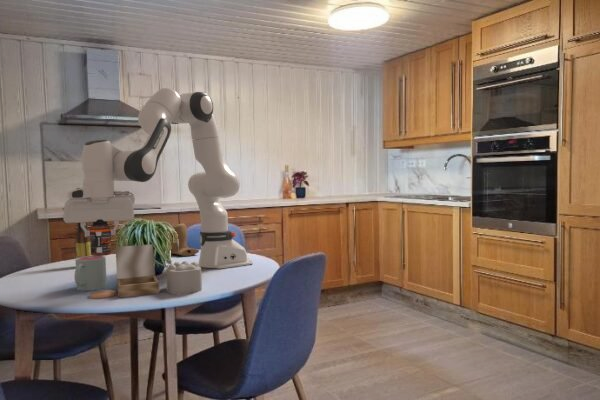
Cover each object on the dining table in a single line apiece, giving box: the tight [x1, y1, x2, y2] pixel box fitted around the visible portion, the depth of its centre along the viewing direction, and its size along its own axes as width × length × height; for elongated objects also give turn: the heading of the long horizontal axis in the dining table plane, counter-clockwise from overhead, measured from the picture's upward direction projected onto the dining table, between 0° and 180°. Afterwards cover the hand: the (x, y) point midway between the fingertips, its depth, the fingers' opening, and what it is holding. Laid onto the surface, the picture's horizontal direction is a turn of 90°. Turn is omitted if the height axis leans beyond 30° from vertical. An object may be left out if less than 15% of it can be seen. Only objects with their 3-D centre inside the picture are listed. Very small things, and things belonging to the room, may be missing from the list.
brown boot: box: [170, 223, 200, 257], centre depth 219 cm, size 15×12×15 cm
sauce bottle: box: [74, 222, 93, 258], centre depth 194 cm, size 7×6×20 cm
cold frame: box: [115, 244, 160, 298], centre depth 152 cm, size 12×16×14 cm
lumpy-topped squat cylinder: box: [165, 260, 203, 295], centre depth 152 cm, size 10×13×9 cm
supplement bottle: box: [89, 219, 112, 256], centre depth 144 cm, size 6×6×11 cm
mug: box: [74, 255, 107, 292], centre depth 154 cm, size 14×9×10 cm
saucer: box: [89, 289, 117, 300], centre depth 145 cm, size 8×8×1 cm
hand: (100, 236), depth 144 cm, fingers closed on supplement bottle, 6 cm apart
